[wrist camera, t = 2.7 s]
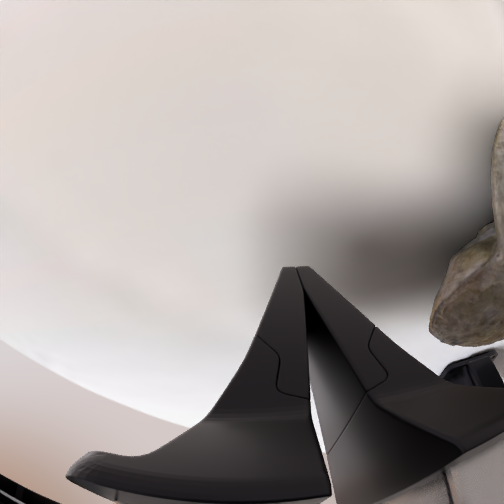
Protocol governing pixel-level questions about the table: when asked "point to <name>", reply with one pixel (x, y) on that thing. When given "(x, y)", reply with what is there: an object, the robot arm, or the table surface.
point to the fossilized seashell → (476, 276)
